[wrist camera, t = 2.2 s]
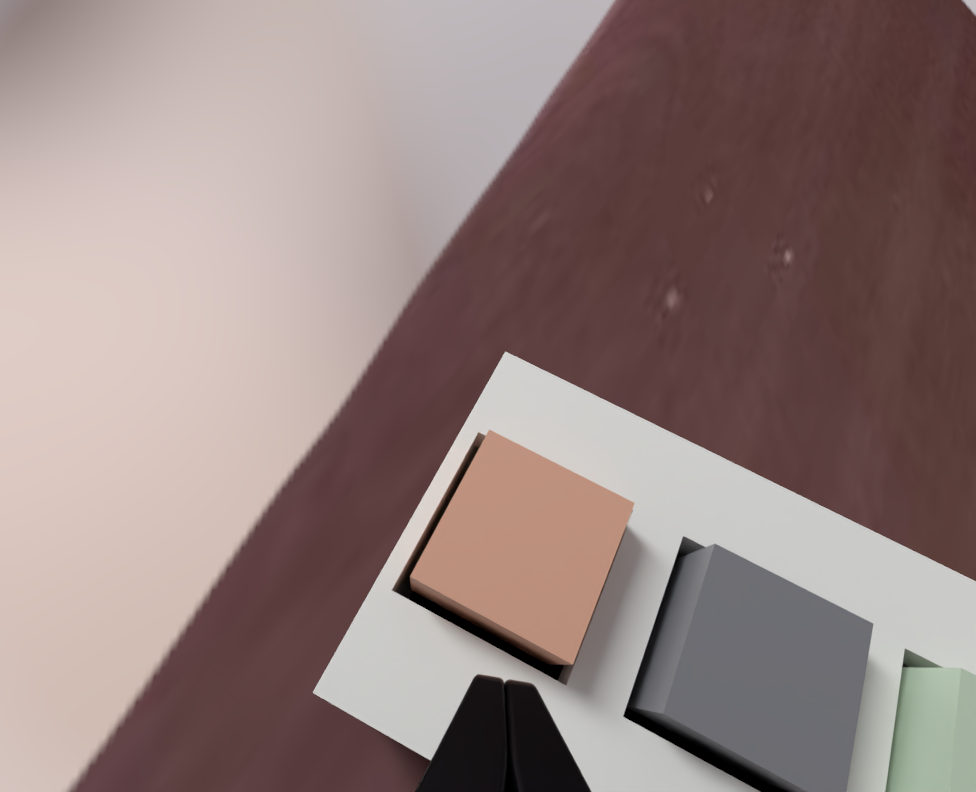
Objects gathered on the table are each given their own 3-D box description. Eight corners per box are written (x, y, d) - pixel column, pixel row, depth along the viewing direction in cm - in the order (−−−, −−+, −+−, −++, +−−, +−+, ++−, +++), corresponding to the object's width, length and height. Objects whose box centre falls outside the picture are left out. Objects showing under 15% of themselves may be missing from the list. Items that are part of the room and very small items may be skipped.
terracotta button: (547, 664, 13) (573, 664, 11) (411, 589, 14) (409, 576, 11) (603, 526, 15) (634, 503, 13) (478, 462, 15) (488, 429, 13)
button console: (840, 961, 16) (1110, 1151, 10) (349, 682, 18) (312, 693, 11) (887, 650, 20) (1103, 644, 14) (479, 442, 22) (505, 351, 15)
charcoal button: (770, 785, 13) (842, 810, 11) (622, 705, 13) (663, 713, 11) (804, 630, 14) (873, 623, 12) (670, 561, 15) (715, 543, 12)
